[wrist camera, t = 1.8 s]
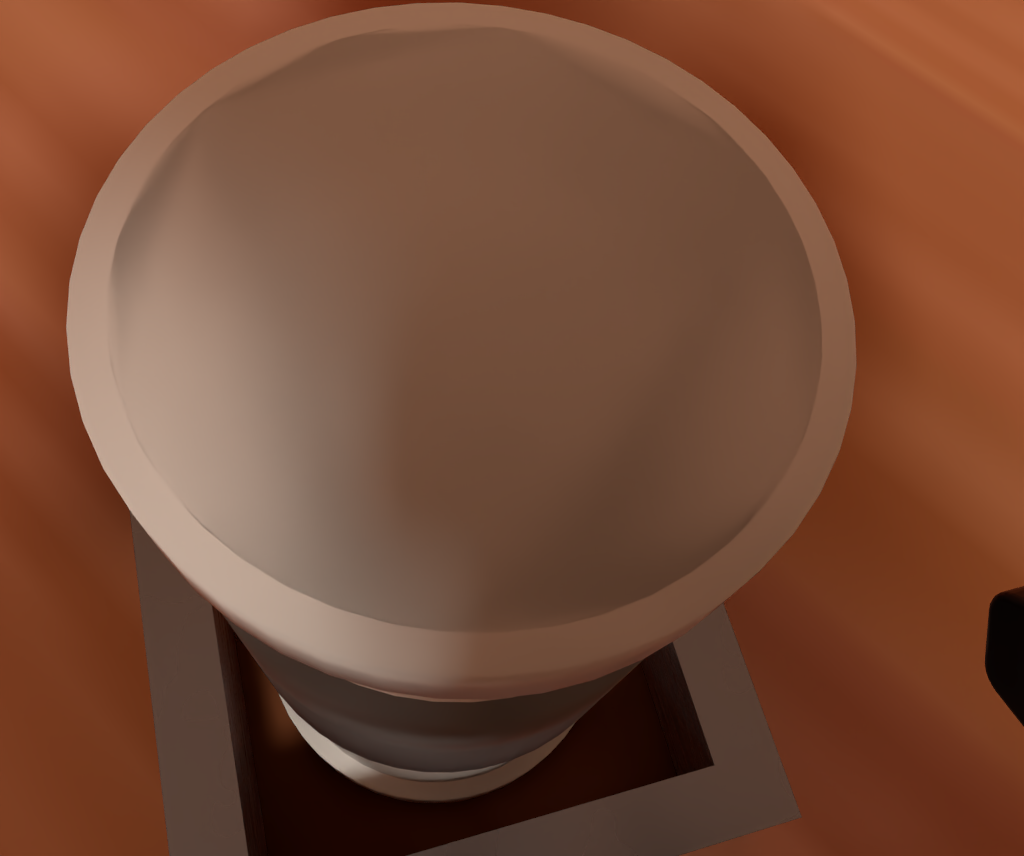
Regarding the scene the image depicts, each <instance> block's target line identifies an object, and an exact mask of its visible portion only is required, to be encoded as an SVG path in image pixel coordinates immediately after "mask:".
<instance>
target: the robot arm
mask: <svg viewBox="0 0 1024 856" xmlns="http://www.w3.org/2000/svg"><path fill="white" fill-rule="evenodd" d="M985 667H986V672H987V675H988V678H989V680H990V682H991V684H992V686H993V688H994V689H995V691H996V692H997V693H998V694H999V696H1000V697H1001V698H1002V700H1003V701H1004V702H1005V703H1006V705H1007V706H1008V707H1009V708H1010V710H1011V711H1012V712H1013V714H1014V715H1015V716H1016V717H1017V719H1018V720H1019V721H1020V722H1021V724H1022V725H1023V726H1024V586H1022V587H1019V588H1015V589H1011V590H1008V591H1004V592H1001V593H999V594H997V595H996V596H995V597H994V598H993V600H992V602H991V603H990V608H989V617H988V629H987V641H986V653H985Z"/></svg>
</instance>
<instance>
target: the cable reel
mask: <svg viewBox="0 0 1024 856" xmlns="http://www.w3.org/2000/svg"><path fill="white" fill-rule="evenodd" d="M66 330H67V341H68V352H69V363H70V374H71V378H72V382H73V386H74V390H75V394H76V398H77V401H78V405H79V409H80V413H81V417H82V421H83V423H84V426H85V428H86V430H87V433H88V435H89V437H90V439H91V442H92V444H93V446H94V449H95V451H96V453H97V455H98V458H99V460H100V462H101V465H102V467H103V469H104V470H105V472H106V474H107V475H108V477H109V478H110V480H111V481H112V483H113V484H114V486H115V488H116V489H117V491H118V492H119V494H120V495H121V497H122V498H123V500H124V502H125V503H126V505H127V506H128V508H129V509H130V511H131V512H132V514H133V515H134V517H135V518H136V519H137V520H138V522H139V523H140V524H141V526H142V527H143V528H144V530H145V531H146V532H147V533H148V535H149V536H150V537H151V539H152V540H153V541H154V543H155V544H156V545H157V547H158V548H159V549H160V550H161V552H162V553H163V554H164V556H165V557H166V558H167V559H168V560H169V561H170V562H171V564H172V565H173V566H174V567H175V568H176V569H177V570H178V572H179V573H180V574H181V575H182V576H183V577H184V578H185V579H186V581H187V582H188V583H189V584H190V585H191V586H192V587H193V589H194V590H195V591H196V592H197V593H198V594H199V595H201V596H202V597H203V598H204V599H205V600H206V601H208V602H209V603H210V604H211V605H212V606H214V607H215V608H216V609H217V610H218V611H219V612H221V613H222V615H223V616H224V617H225V619H226V620H227V622H228V623H229V624H230V626H231V627H232V629H233V630H234V631H235V633H236V634H237V636H238V637H239V638H240V640H241V641H242V643H243V644H244V645H245V647H246V648H247V650H248V651H249V652H250V654H251V655H252V657H253V658H254V659H255V661H256V662H257V664H258V665H259V666H260V668H261V669H262V671H263V672H264V673H265V675H266V676H267V678H268V679H269V680H270V682H271V683H272V685H273V686H274V687H275V689H276V690H277V692H278V693H279V695H280V698H281V700H282V702H283V704H284V706H285V708H286V710H287V713H288V715H289V716H290V718H291V720H292V721H293V723H294V724H295V726H296V727H297V729H298V730H299V732H300V733H301V735H302V736H303V737H304V739H305V740H306V741H307V743H308V744H309V745H310V746H311V747H312V748H313V749H314V751H315V752H316V753H317V754H318V755H319V756H320V757H321V758H322V759H323V760H324V761H325V762H326V763H327V764H329V765H330V766H331V767H332V768H333V769H334V770H335V771H337V772H338V773H339V774H341V775H343V776H344V777H346V778H347V779H349V780H350V781H352V782H353V783H355V784H357V785H359V786H361V787H363V788H365V789H368V790H370V791H372V792H374V793H376V794H380V795H383V796H386V797H390V798H393V799H396V800H402V801H408V802H415V803H449V802H456V801H463V800H468V799H471V798H475V797H478V796H482V795H485V794H488V793H490V792H493V791H495V790H497V789H499V788H502V787H504V786H506V785H508V784H510V783H511V782H513V781H515V780H516V779H518V778H519V777H521V776H523V775H524V774H526V773H527V772H528V771H530V770H531V769H532V768H533V767H534V766H536V765H537V764H538V763H539V762H541V761H542V760H543V759H544V758H545V757H546V756H548V755H549V754H550V753H551V752H552V751H553V749H554V748H555V747H556V746H557V745H558V744H559V743H560V742H561V741H562V740H563V739H564V738H565V736H566V735H567V733H568V732H569V731H570V729H571V728H572V726H573V725H574V724H575V722H576V721H577V720H578V719H580V718H581V717H582V716H583V715H584V714H585V713H586V712H587V711H588V710H589V709H591V708H592V707H593V706H594V705H595V704H596V703H597V702H598V701H599V700H600V699H601V698H602V697H604V696H605V695H606V694H607V693H608V692H609V691H610V690H611V689H612V688H613V687H614V686H615V685H617V684H618V683H619V682H620V681H621V680H622V679H623V678H624V677H625V676H626V675H627V674H628V673H630V672H631V671H632V670H633V669H634V668H635V667H636V666H637V665H638V664H639V663H640V662H641V661H643V660H644V659H645V658H646V657H648V656H649V655H651V654H653V653H654V652H656V651H658V650H659V649H661V648H663V647H664V646H666V645H668V644H669V643H671V642H673V641H674V640H676V639H678V638H679V637H681V636H683V635H684V634H686V633H687V632H688V631H689V630H690V629H692V628H693V627H694V626H695V625H697V624H698V623H699V622H700V621H702V620H703V619H704V618H705V617H706V616H708V615H709V614H710V613H711V612H713V611H714V610H715V609H716V608H718V607H719V606H720V605H721V604H722V603H724V602H725V601H726V600H727V599H728V598H729V597H730V596H732V595H733V594H734V593H735V592H736V591H737V590H738V589H740V588H741V587H742V586H743V585H744V584H745V583H747V582H748V581H749V580H750V579H751V578H752V577H753V576H755V575H756V574H757V573H758V572H759V571H760V570H761V569H762V568H763V567H764V566H765V565H766V564H767V562H768V561H769V560H770V559H771V558H772V557H773V556H774V555H775V554H776V553H777V552H778V550H779V549H780V548H781V547H782V546H783V545H784V544H785V543H786V542H787V541H788V539H789V538H790V537H791V536H792V535H793V534H794V532H795V531H796V529H797V528H798V526H799V525H800V523H801V522H802V520H803V519H804V517H805V516H806V514H807V513H808V511H809V510H810V508H811V507H812V505H813V504H814V502H815V501H816V499H817V498H818V496H819V495H820V493H821V491H822V489H823V486H824V484H825V482H826V480H827V478H828V475H829V473H830V471H831V469H832V467H833V464H834V462H835V460H836V458H837V456H838V454H839V451H840V448H841V444H842V440H843V437H844V433H845V430H846V426H847V422H848V419H849V415H850V412H851V408H852V399H853V390H854V382H855V373H856V337H855V320H854V314H853V309H852V303H851V298H850V292H849V287H848V281H847V278H846V275H845V272H844V269H843V266H842V263H841V260H840V257H839V254H838V251H837V248H836V245H835V242H834V239H833V237H832V235H831V233H830V231H829V229H828V227H827V225H826V223H825V221H824V219H823V217H822V215H821V213H820V211H819V209H818V207H817V204H816V203H815V201H814V200H813V198H812V196H811V195H810V193H809V192H808V190H807V189H806V187H805V186H804V184H803V183H802V181H801V180H800V178H799V177H798V175H797V173H796V172H795V170H794V169H793V167H792V166H791V165H790V164H789V163H788V162H787V160H786V159H785V158H784V157H783V156H782V154H781V153H780V152H779V151H778V150H777V148H776V147H775V146H774V145H773V144H772V142H771V141H770V140H769V139H768V138H767V136H766V135H765V134H764V133H763V132H761V131H760V130H759V129H758V128H757V127H756V126H755V125H754V124H753V123H752V122H751V121H750V120H749V119H748V118H747V117H746V116H745V115H744V114H743V113H742V112H741V111H740V110H738V109H737V108H736V107H735V106H734V105H733V104H731V103H730V102H729V101H727V100H726V99H725V98H724V97H722V96H721V95H720V94H718V93H717V92H716V91H714V90H713V89H712V88H711V87H709V86H708V85H707V84H705V83H704V82H703V81H701V80H700V79H698V78H696V77H695V76H693V75H692V74H690V73H688V72H687V71H685V70H684V69H682V68H680V67H679V66H677V65H675V64H674V63H672V62H671V61H669V60H667V59H666V58H664V57H662V56H660V55H657V54H655V53H653V52H651V51H649V50H647V49H645V48H643V47H641V46H639V45H637V44H635V43H633V42H631V41H629V40H627V39H624V38H621V37H619V36H616V35H613V34H611V33H608V32H605V31H603V30H600V29H597V28H595V27H592V26H589V25H586V24H583V23H579V22H575V21H572V20H568V19H564V18H561V17H557V16H553V15H550V14H546V13H540V12H535V11H529V10H523V9H517V8H512V7H506V6H497V5H484V4H472V3H414V4H404V5H395V6H386V7H377V8H370V9H366V10H361V11H356V12H351V13H347V14H342V15H337V16H332V17H329V18H325V19H322V20H319V21H316V22H313V23H310V24H307V25H303V26H300V27H297V28H294V29H291V30H288V31H286V32H284V33H281V34H279V35H277V36H274V37H272V38H270V39H268V40H265V41H263V42H261V43H258V44H256V45H254V46H252V47H249V48H248V49H246V50H244V51H242V52H241V53H239V54H237V55H236V56H234V57H232V58H230V59H229V60H227V61H225V62H223V63H222V64H220V65H218V66H216V67H215V68H213V69H211V70H210V71H209V72H207V73H206V74H205V75H203V76H202V77H201V78H199V79H198V80H197V81H195V82H194V83H193V84H191V85H190V86H189V87H187V88H186V89H185V90H183V91H182V92H181V93H179V94H178V95H177V96H176V97H175V98H174V99H173V100H172V101H170V102H169V103H168V104H167V105H166V106H165V107H164V108H163V109H162V110H161V111H160V112H159V113H158V114H157V115H156V116H155V117H154V118H153V119H152V120H151V121H150V122H149V123H148V124H146V126H145V127H144V128H143V129H142V131H141V132H140V133H139V134H138V136H137V137H136V138H135V139H134V141H133V142H132V143H131V144H130V146H129V147H128V148H127V149H126V151H125V152H124V153H123V154H122V156H121V157H120V158H119V160H118V161H117V163H116V165H115V166H114V168H113V170H112V171H111V173H110V175H109V176H108V178H107V180H106V182H105V183H104V185H103V187H102V188H101V190H100V192H99V193H98V195H97V197H96V199H95V202H94V204H93V207H92V209H91V212H90V214H89V216H88V219H87V221H86V224H85V226H84V229H83V231H82V234H81V236H80V239H79V244H78V248H77V252H76V256H75V260H74V265H73V269H72V273H71V277H70V283H69V296H68V310H67V323H66Z"/></svg>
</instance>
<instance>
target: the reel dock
mask: <svg viewBox="0 0 1024 856" xmlns="http://www.w3.org/2000/svg"><path fill="white" fill-rule="evenodd" d="M130 517H131V526H132V534H133V543H134V552H135V560H136V569H137V578H138V586H139V595H140V604H141V612H142V621H143V630H144V638H145V647H146V656H147V664H148V673H149V682H150V690H151V699H152V708H153V716H154V725H155V733H156V742H157V751H158V759H159V768H160V777H161V785H162V794H163V803H164V811H165V820H166V829H167V837H168V846H169V855H170V856H268V850H267V843H266V837H265V830H264V824H263V817H262V811H261V804H260V798H259V791H258V785H257V778H256V772H255V765H254V759H253V752H252V746H251V739H250V733H249V726H248V720H247V713H246V707H245V700H244V694H243V687H242V681H241V674H240V668H239V661H238V655H237V648H236V642H235V635H234V630H233V629H232V627H231V626H230V624H229V623H228V622H227V620H226V619H225V617H224V616H223V615H222V613H221V612H219V611H218V610H217V609H216V608H215V607H214V606H212V605H211V604H210V603H209V602H208V601H206V600H205V599H204V598H203V597H202V596H201V595H199V594H198V593H197V592H196V591H195V590H194V589H193V587H192V586H191V585H190V584H189V583H188V582H187V581H186V579H185V578H184V577H183V576H182V575H181V574H180V573H179V572H178V570H177V569H176V568H175V567H174V566H173V565H172V564H171V562H170V561H169V560H168V559H167V558H166V557H165V556H164V554H163V553H162V552H161V550H160V549H159V548H158V547H157V545H156V544H155V543H154V541H153V540H152V539H151V537H150V536H149V535H148V533H147V532H146V531H145V530H144V528H143V527H142V526H141V524H140V523H139V522H138V520H137V519H136V518H135V517H134V515H133V514H132V512H131V511H130ZM641 665H642V668H643V671H644V674H645V677H646V680H647V683H648V686H649V689H650V692H651V696H652V699H653V702H654V705H655V708H656V711H657V714H658V717H659V720H660V723H661V726H662V730H663V733H664V736H665V739H666V742H667V745H668V748H669V751H670V754H671V757H672V761H673V764H674V767H675V770H676V773H677V776H676V777H673V778H670V779H666V780H663V781H659V782H656V783H653V784H649V785H646V786H642V787H639V788H636V789H632V790H629V791H625V792H622V793H619V794H615V795H612V796H608V797H605V798H602V799H598V800H595V801H591V802H588V803H585V804H581V805H578V806H574V807H571V808H568V809H564V810H561V811H557V812H554V813H550V814H547V815H544V816H540V817H537V818H533V819H530V820H527V821H523V822H520V823H516V824H513V825H510V826H506V827H503V828H499V829H496V830H493V831H489V832H486V833H482V834H479V835H476V836H472V837H469V838H465V839H462V840H459V841H455V842H452V843H448V844H445V845H442V846H438V847H435V848H431V849H428V850H424V851H421V852H418V853H414V854H411V855H407V856H679V855H682V854H685V853H688V852H692V851H695V850H698V849H701V848H705V847H708V846H711V845H714V844H717V843H721V842H724V841H727V840H730V839H733V838H737V837H740V836H743V835H746V834H749V833H753V832H756V831H759V830H762V829H765V828H769V827H772V826H775V825H778V824H782V823H785V822H788V821H791V820H794V819H798V818H801V814H800V811H799V808H798V806H797V803H796V800H795V798H794V795H793V792H792V789H791V787H790V784H789V781H788V778H787V776H786V773H785V770H784V768H783V765H782V762H781V759H780V757H779V754H778V751H777V748H776V746H775V743H774V740H773V738H772V735H771V732H770V729H769V727H768V724H767V721H766V718H765V716H764V713H763V710H762V708H761V705H760V702H759V699H758V697H757V694H756V691H755V688H754V686H753V683H752V680H751V677H750V675H749V672H748V669H747V667H746V664H745V661H744V658H743V656H742V653H741V650H740V647H739V645H738V642H737V639H736V637H735V634H734V631H733V628H732V626H731V623H730V620H729V617H728V615H727V612H726V609H725V607H724V604H723V603H722V604H721V605H720V606H719V607H718V608H716V609H715V610H714V611H713V612H711V613H710V614H709V615H708V616H706V617H705V618H704V619H703V620H702V621H700V622H699V623H698V624H697V625H695V626H694V627H693V628H692V629H690V630H689V631H688V632H687V633H686V634H684V635H683V636H681V637H679V638H678V639H676V640H674V641H673V642H671V643H669V644H668V645H666V646H664V647H663V648H661V649H659V650H658V651H656V652H654V653H653V654H651V655H649V656H648V657H646V658H645V659H644V660H643V661H641Z"/></svg>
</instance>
